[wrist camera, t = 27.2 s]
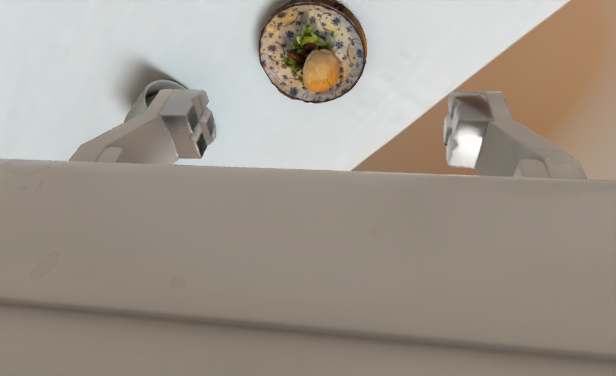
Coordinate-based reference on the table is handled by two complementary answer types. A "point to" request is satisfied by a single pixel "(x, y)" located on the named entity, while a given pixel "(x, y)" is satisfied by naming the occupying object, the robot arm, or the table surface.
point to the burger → (313, 50)
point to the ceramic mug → (148, 97)
